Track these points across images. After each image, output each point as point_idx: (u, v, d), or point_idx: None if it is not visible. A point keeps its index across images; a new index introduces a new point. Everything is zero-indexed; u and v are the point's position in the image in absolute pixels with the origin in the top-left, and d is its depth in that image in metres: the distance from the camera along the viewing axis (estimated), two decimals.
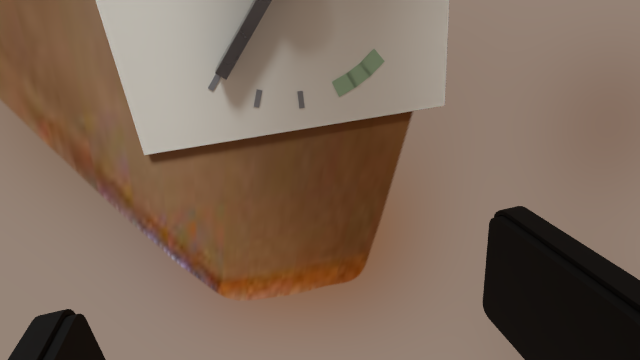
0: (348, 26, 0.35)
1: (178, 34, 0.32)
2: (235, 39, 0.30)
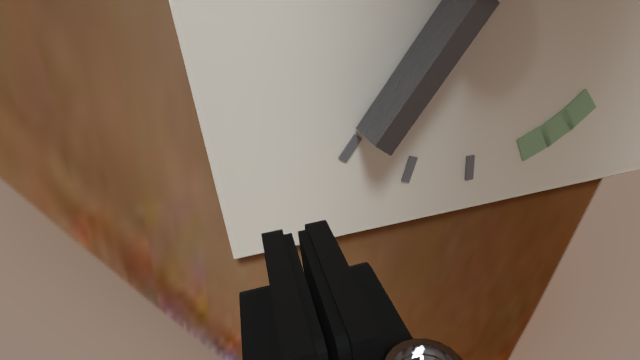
0: (556, 56, 0.22)
1: (304, 76, 0.19)
2: (416, 90, 0.17)
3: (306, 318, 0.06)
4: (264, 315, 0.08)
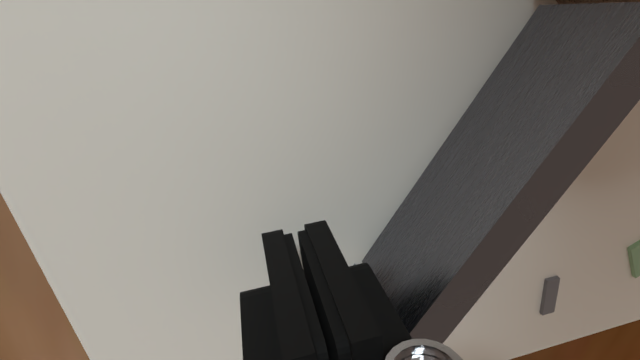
0: None
1: (254, 176, 0.10)
2: (494, 229, 0.08)
3: (306, 318, 0.06)
4: (264, 315, 0.08)
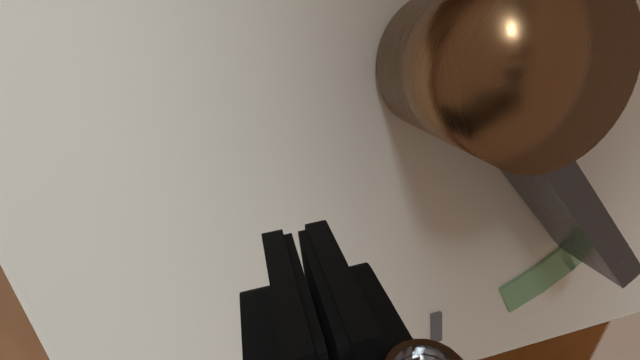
0: None
1: (181, 241, 0.13)
2: (592, 239, 0.13)
3: (306, 318, 0.06)
4: (264, 315, 0.08)
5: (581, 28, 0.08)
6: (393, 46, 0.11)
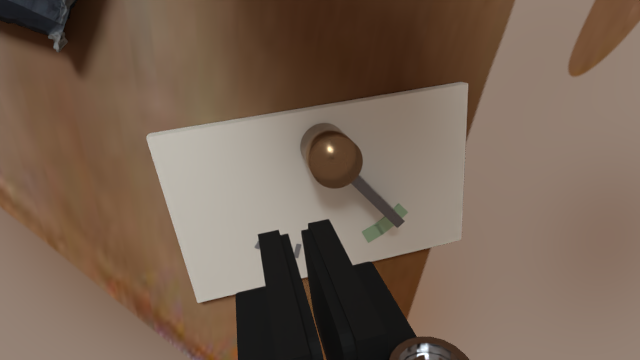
0: (376, 188, 0.39)
1: (231, 209, 0.37)
2: (379, 209, 0.36)
3: (301, 319, 0.06)
4: (260, 316, 0.08)
5: (342, 152, 0.31)
6: (303, 145, 0.34)
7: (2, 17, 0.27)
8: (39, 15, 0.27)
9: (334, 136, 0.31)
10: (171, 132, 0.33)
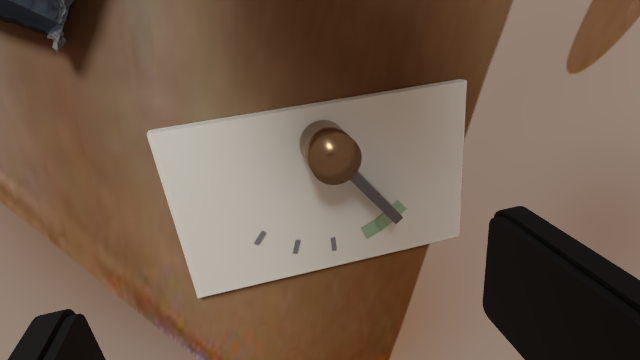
0: (375, 185, 0.40)
1: (231, 205, 0.37)
2: (377, 205, 0.37)
3: None
4: None
5: (341, 148, 0.31)
6: (302, 142, 0.34)
7: (1, 16, 0.27)
8: (38, 15, 0.27)
9: (334, 133, 0.31)
10: (171, 129, 0.33)
